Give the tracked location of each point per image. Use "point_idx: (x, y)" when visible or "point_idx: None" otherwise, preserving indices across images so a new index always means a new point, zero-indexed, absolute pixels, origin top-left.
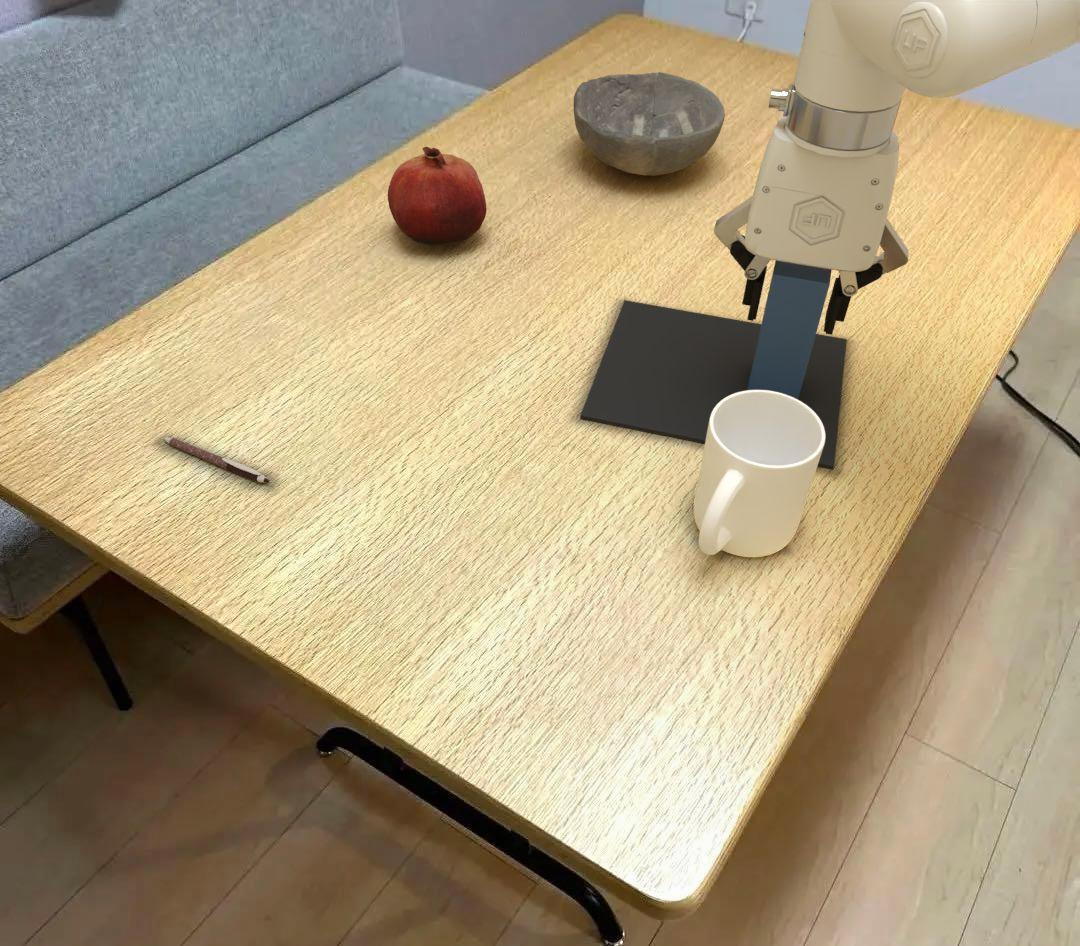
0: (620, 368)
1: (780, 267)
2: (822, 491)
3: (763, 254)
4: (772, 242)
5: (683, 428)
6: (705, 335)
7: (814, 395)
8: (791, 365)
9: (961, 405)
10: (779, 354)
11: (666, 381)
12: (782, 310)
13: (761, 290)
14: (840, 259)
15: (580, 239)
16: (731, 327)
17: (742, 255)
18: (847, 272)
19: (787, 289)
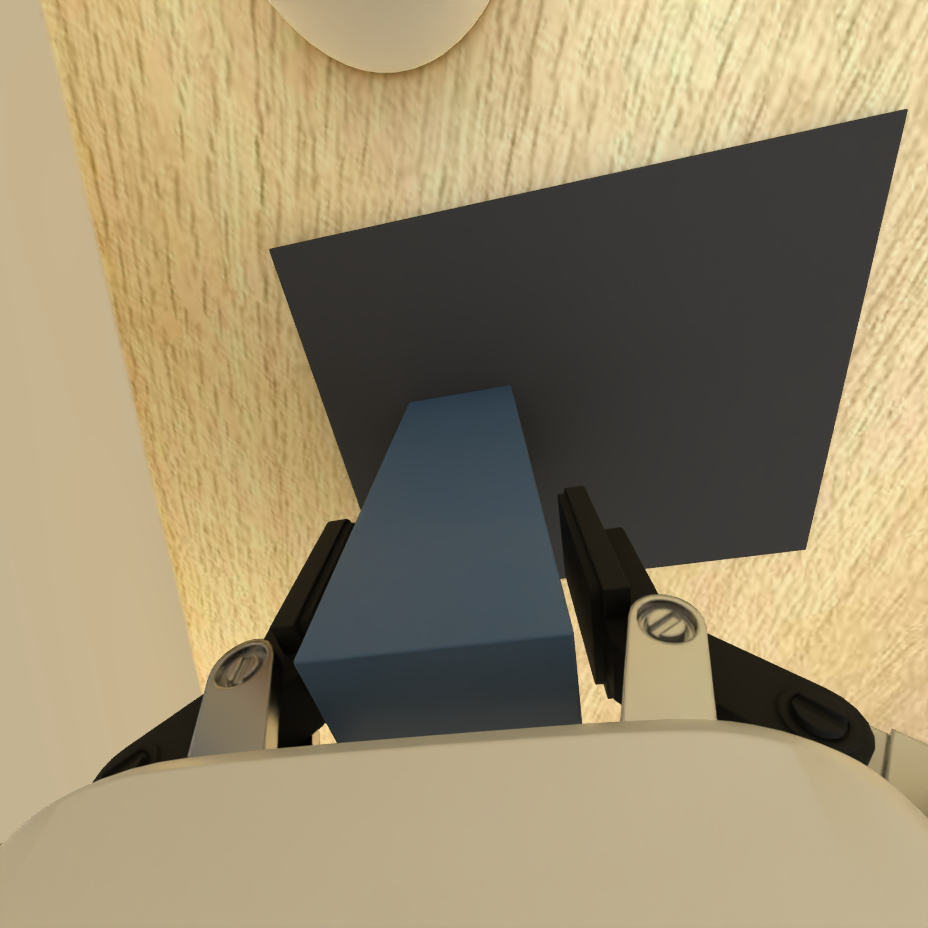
0: (801, 348)
1: (549, 687)
2: (260, 158)
3: (722, 751)
4: (735, 924)
5: (620, 203)
6: (629, 518)
7: (388, 445)
8: (426, 436)
9: (172, 529)
10: (460, 442)
11: (687, 353)
12: (480, 521)
13: (585, 568)
14: (136, 868)
15: (895, 661)
16: None
17: (768, 701)
18: (224, 748)
19: (481, 588)
